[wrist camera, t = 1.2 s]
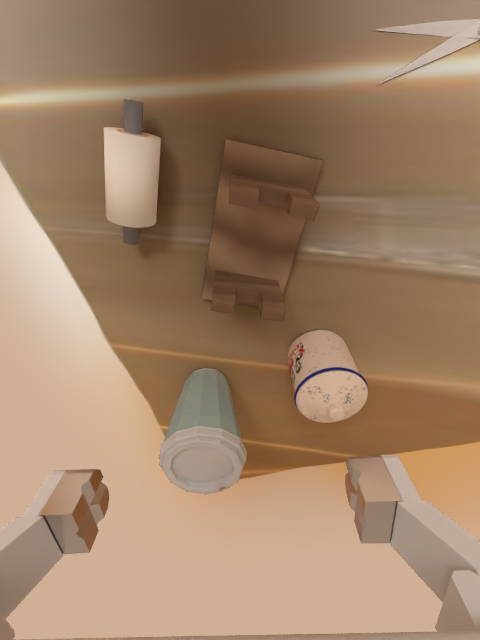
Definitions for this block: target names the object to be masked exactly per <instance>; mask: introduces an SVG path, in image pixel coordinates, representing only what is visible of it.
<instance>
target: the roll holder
mask: <svg viewBox="0 0 480 640" xmlns="http://www.w3.org/2000/svg"><path fill="white" fill-rule="evenodd" d="M322 164H323V161H322V160H320V159H316V158H311V157H307V156H302V155H298V154H293V153H288V152H284V151H279V150H275V149H270V148H266V147H261V146H257V145H252V144H247V143H243V142H238V141H234V140H229V139H226V140H225V147H224V154H223V160H222V167H221V173H220V180H219V187H218V193H217V200H216V206H215V213H214V220H213V226H212V233H211V240H210V246H209V253H208V259H207V266H206V273H205V279H204V286H203V293H202V299H207V300H211V311H218V312H224V313H231V314H233V312H234V307H235V304H239V305H245V306H252V307H258V308H259V309H260V316H261V318H263V319H270V320H276V321H283V318H284V315H285V312H286V309H285V305H284V301H283V297H282V296H283V293H284V290H285V286H286V283H287V280H288V276H289V273H290V270H291V267H292V263H293V260H294V257H295V253H296V250H297V247H298V243H299V240H300V237H301V234H302V230H303V227H304V224H305V220H306V219H309V220H314V221H315V218H316V215H317V212H318V208H319V204H318V202H317V201H316V200H315V199H314V198H313V194H314V191H315V187H316V184H317V181H318V177H319V174H320V171H321V168H322Z"/></svg>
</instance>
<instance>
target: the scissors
mask: <svg viewBox="0 0 480 640" xmlns="http://www.w3.org/2000/svg"><path fill="white" fill-rule="evenodd" d="M376 30H377V31H388V32H398V33H409V34H424V35H436V36H444V37H451V38H450V39H448V40H447V41H445V42H443V43H442V44H440V45H439V46H437V47H435V48H434V49H432V50H430V51H429V52H427V53H426V54H424V55H422V56H421V57H419V58H418V59H416V60H415V61H413V62H411V63H410V64H408V65H407V66H405V67H404V68H402V69H401V70H399V71H397V72H396V73H394V74H393V75H391V76H390V77H388V78H387V79H385V80H383V81H382V82H385V81H387V80H389V79H392V78H394V77H396V76H399V75H401V74H403V73H406V72H408V71H410V70H413V69H415V68H417V67H420V66H422V65H424V64H427V63H429V62H432V61H434V60H436V59H439V58H441V57H443V56H445V55H447V54H450V53H452V52H454V51H456V50H458V49H461V48H463V47H465V46H467V45H469V44H471V43H474V42H476V41H478V40H479V39H480V19H470V20H450V21H439V22H429V23H422V24H414V25H404V26H394V27H388V28H382V29H376ZM452 36H453V37H452ZM382 82H380V83H382ZM380 83H379V84H380ZM377 85H378V84H377Z"/></svg>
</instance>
